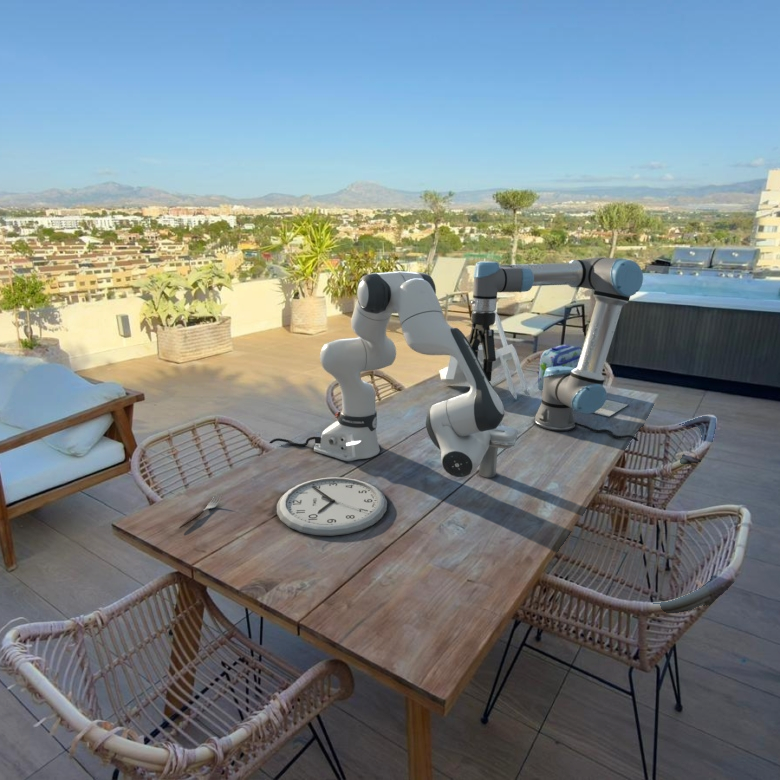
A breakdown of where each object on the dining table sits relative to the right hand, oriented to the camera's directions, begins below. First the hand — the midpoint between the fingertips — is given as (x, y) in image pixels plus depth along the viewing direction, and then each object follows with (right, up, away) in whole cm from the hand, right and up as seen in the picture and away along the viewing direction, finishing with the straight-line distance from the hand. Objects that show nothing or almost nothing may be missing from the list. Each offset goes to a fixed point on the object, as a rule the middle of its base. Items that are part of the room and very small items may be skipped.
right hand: (479, 375), depth 173 cm
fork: (-79, -38, -36) cm, 95 cm away
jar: (+1, -31, -11) cm, 33 cm away
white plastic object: (+12, -6, +70) cm, 71 cm away
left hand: (-4, -14, -28) cm, 31 cm away
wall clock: (-45, -36, -31) cm, 66 cm away
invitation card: (+62, -12, +53) cm, 82 cm away
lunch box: (+51, -5, +76) cm, 92 cm away
